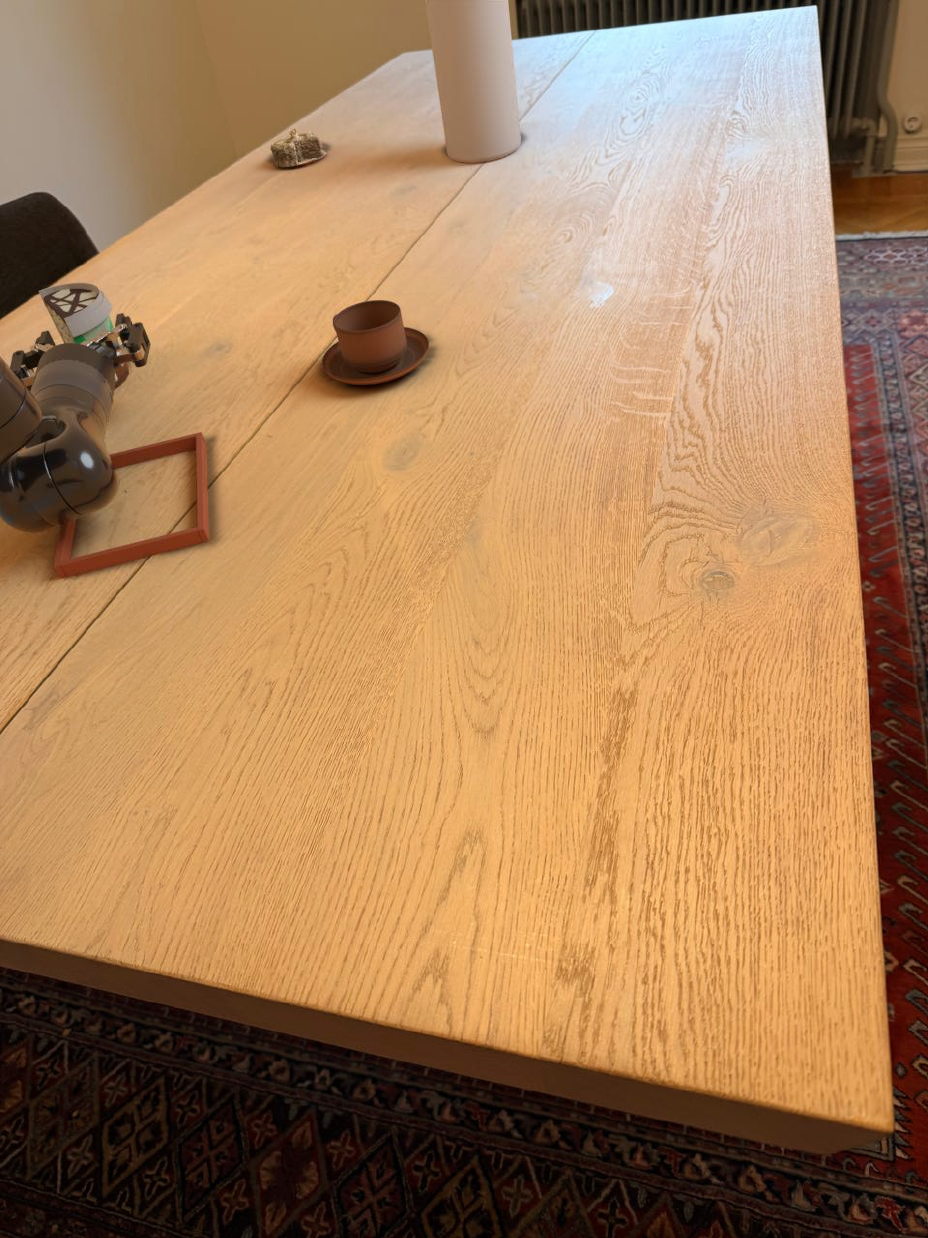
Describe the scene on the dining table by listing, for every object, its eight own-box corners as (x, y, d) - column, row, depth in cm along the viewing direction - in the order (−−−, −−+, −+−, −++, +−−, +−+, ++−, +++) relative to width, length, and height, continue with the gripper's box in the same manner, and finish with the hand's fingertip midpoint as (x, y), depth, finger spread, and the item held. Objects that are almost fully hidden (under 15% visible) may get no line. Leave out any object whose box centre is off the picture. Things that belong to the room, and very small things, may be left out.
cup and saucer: (307, 391, 100) (292, 339, 95) (355, 339, 107) (343, 289, 103) (405, 398, 95) (393, 344, 91) (448, 344, 103) (439, 291, 99)
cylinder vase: (485, 135, 159) (465, -38, 142) (537, 143, 151) (522, -38, 134) (432, 158, 154) (405, -19, 137) (483, 168, 146) (460, -18, 129)
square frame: (65, 588, 80) (53, 566, 78) (82, 484, 92) (71, 463, 91) (213, 550, 81) (203, 528, 79) (209, 452, 93) (201, 431, 91)
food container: (152, 380, 107) (118, 299, 100) (103, 401, 105) (65, 319, 98) (120, 348, 115) (87, 271, 108) (74, 366, 113) (37, 289, 106)
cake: (263, 171, 164) (252, 139, 161) (299, 153, 170) (290, 122, 167) (301, 169, 159) (291, 136, 156) (338, 151, 164) (329, 118, 161)
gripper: (127, 344, 89) (135, 283, 101) (-17, 379, 88) (8, 313, 100) (156, 411, 94) (160, 345, 106) (20, 444, 93) (39, 374, 105)
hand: (86, 329), depth 103 cm, fingers open, 8 cm apart
